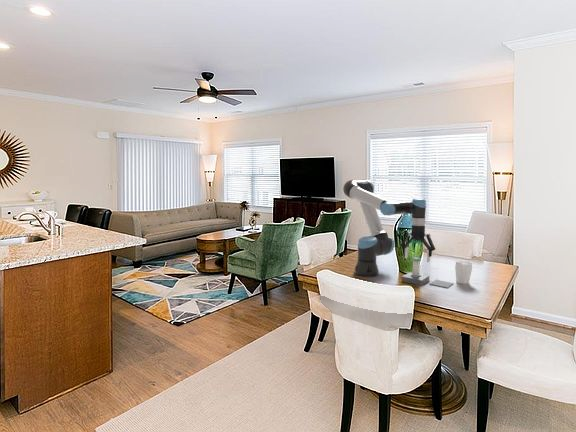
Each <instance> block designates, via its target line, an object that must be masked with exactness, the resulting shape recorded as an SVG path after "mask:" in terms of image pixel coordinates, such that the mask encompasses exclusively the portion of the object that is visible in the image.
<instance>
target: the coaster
mask: <svg viewBox="0 0 576 432" xmlns="http://www.w3.org/2000/svg"><path fill="white" fill-rule="evenodd" d="M429 285H431V286H433V287H434V286H435V287H439V288H444V289H448V288H450V287H451V286H453V285H454V282H450V281H444V280H439V279H435V280H433V281H432V282H430V283H429Z"/></svg>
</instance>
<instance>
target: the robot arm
mask: <svg viewBox="0 0 576 432" xmlns="http://www.w3.org/2000/svg"><path fill="white" fill-rule="evenodd" d="M374 186H375V185H374V183H372V181H370V180H369V179H350V180H347V181H346V182H345V183H344V184H343V188H342V191H343V193H344V195H345V196H346V197H348V198H350V199H352V200H356V201H357V202H358V203H360V208H361V210H362V212H363V215H364V218H365V220H366V223H367V226H368V229H369V233H370V235H369V236H362V237H360V238H359V239H358V243H357V262H356V263H355V264H356V265H355V268H354V274H355V275H358V276H361V277H368V278H369V277H376V276H378V275H379V273H380V271H379V267H378V264H377V257H378V256H379V257H380V256H385V255H389V254H391V253H392V252H393V251H394V248H395V241H394V239H393V238H392V237H391V236H389V235H388V231H385V230H384V228H383V225H382V223H381V219H380V217H379V214H378V211H377V210H379V211H380V213H381V214H382V215H384V216H392V215H395V216H396V215H402V214H408V215H411V228H410V229H411V231H407V232H405V235H404V238H403V239H402V242H401V243H400V247H402V248H403V250H402V251H403V253H404V259H406V260H407V259H408V257H409V256H408V255H409V245H411V243H412V242H413V241H418V242H419V241H420V242H421V243H422V244H424V246H425V248H426V249H427V251H426V263H430V262H431V257H432V255H433V251H435V250H436V247H435V243H434V242H433V240H432V238H431V233H425V232H426V226H425V225H426V210H427V209H426V208H427V202H426V199H425V198H413V199H412V200H411V201H407V200H396V201H390V200H388V199H386V198H383V197H382V196H378V195H377V194H374V193H375V191H374V190H375V187H374ZM410 236H411V238H410V239H409V237H410ZM408 239H409V240H408Z"/></svg>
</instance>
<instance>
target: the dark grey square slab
mask: <svg viewBox="0 0 576 432" xmlns="http://www.w3.org/2000/svg"><path fill="white" fill-rule="evenodd" d="M403 281H404V283H409V284H414V285H417V286H422V285H424V284H426V283H428V282H429V281H430V275H427V274H422V273H419V278H416V277H412V271H410V272H407V273H406V274H403V275H402V276H401V282H403Z"/></svg>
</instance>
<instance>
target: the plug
mask: <svg viewBox="0 0 576 432" xmlns="http://www.w3.org/2000/svg"><path fill="white" fill-rule="evenodd" d="M421 260H422V258H420V257H412V260H411V261H412V271H411V272H412V277H416V278H419V274H420V270H421V269H420V268H421V266H420V264H421Z"/></svg>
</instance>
